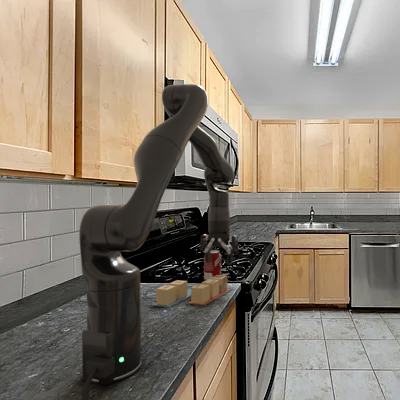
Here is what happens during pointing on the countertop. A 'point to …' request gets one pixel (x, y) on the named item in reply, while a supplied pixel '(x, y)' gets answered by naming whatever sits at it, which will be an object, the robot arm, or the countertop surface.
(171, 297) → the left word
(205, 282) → the wooden blocks on tray
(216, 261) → the soda can
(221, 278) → the small cardboard box
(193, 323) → the countertop surface
